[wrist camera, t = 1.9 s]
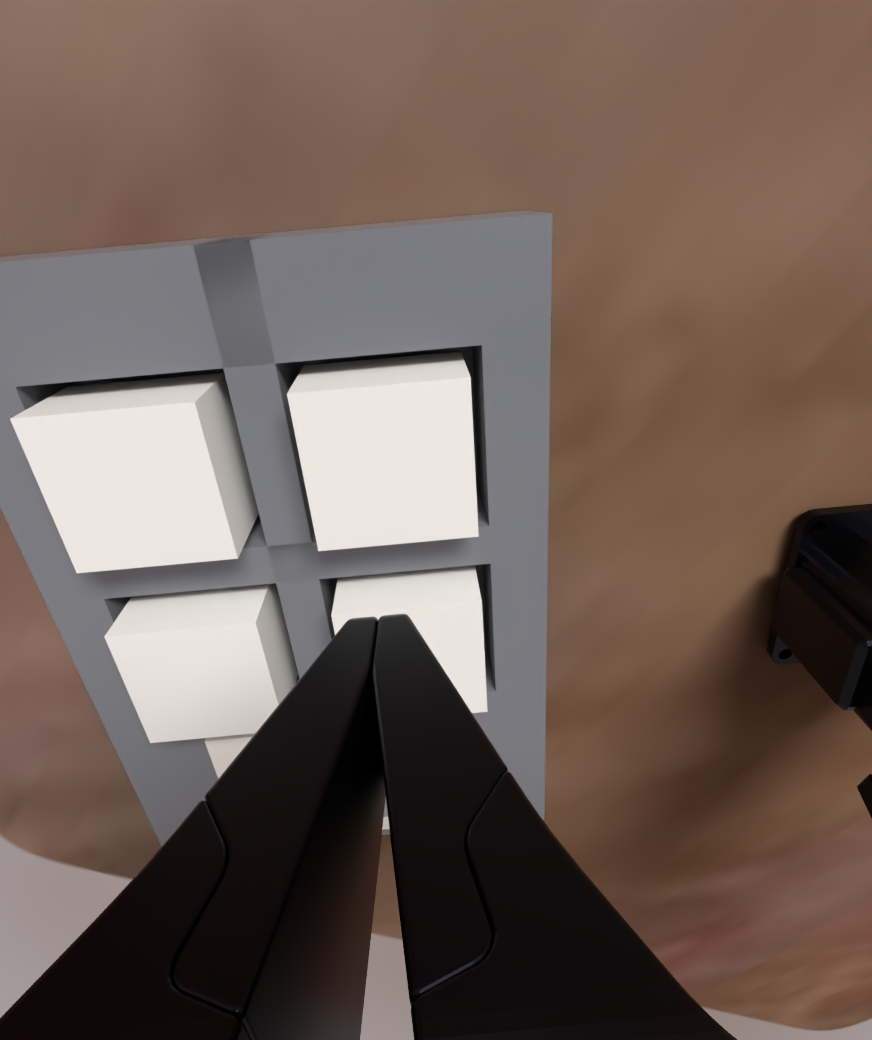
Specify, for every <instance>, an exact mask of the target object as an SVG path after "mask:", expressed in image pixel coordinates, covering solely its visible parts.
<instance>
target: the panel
mask: <svg viewBox="0 0 872 1040" xmlns="http://www.w3.org/2000/svg"><path fill="white" fill-rule="evenodd" d="M551 275H552V213H545V212H534V211H524V210H522V211H511V212H499V213H488V214H477V215H465V216H454V217H443V218H431V219H420V220H409V221H398V222H386V223H375V224H364V225H352V226H341V227H330V228H318V229H307V230H296V231H284V232H273V233H262V234H251V235H239V236H228V237H217V238H205V239H194V240H183V241H171V242H160V243H149V244H138V245H126V246H115V247H104V248H92V249H81V250H70V251H58V252H47V253H36V254H24V255H13V256H2V257H0V508H1V510H2V512H3V514H4V516H5V518H6V521H7V523H8V525H9V527H10V529H11V531H12V533H13V535H14V537H15V539H16V542H17V544H18V546H19V548H20V550H21V552H22V554H23V556H24V558H25V560H26V563H27V565H28V567H29V569H30V571H31V573H32V575H33V577H34V579H35V581H36V584H37V586H38V588H39V590H40V592H41V594H42V596H43V598H44V600H45V602H46V605H47V607H48V609H49V611H50V613H51V615H52V617H53V619H54V621H55V624H56V626H57V628H58V630H59V632H60V634H61V636H62V638H63V640H64V642H65V645H66V647H67V649H68V651H69V653H70V655H71V657H72V659H73V661H74V663H75V666H76V668H77V670H78V672H79V674H80V676H81V678H82V680H83V682H84V684H85V687H86V689H87V691H88V693H89V695H90V697H91V699H92V701H93V703H94V706H95V708H96V710H97V712H98V714H99V716H100V718H101V720H102V722H103V724H104V727H105V729H106V731H107V733H108V735H109V737H110V739H111V741H112V743H113V745H114V748H115V750H116V752H117V754H118V756H119V758H120V760H121V762H122V764H123V766H124V769H125V771H126V773H127V775H128V777H129V779H130V781H131V783H132V785H133V787H134V790H135V792H136V794H137V796H138V798H139V800H140V802H141V804H142V806H143V809H144V811H145V813H146V815H147V817H148V819H149V821H150V823H151V825H152V827H153V830H154V832H155V834H156V836H157V838H158V840H159V842H160V844H161V846H163V845H164V844H165V842H166V841H167V840H168V839H169V838H170V837H171V835H172V834H173V833H174V832H175V831H176V830H177V828H178V827H179V826H180V825H181V824H182V822H183V821H184V820H185V819H186V818H187V816H188V815H189V814H190V813H191V811H192V810H193V809H194V808H195V806H196V805H197V804H198V803H199V802H200V801H201V800H205V795H206V793H207V792H208V791H209V790H210V788H211V787H212V786H213V785H214V784H215V782H216V781H217V780H218V779H219V777H220V776H221V775H222V774H223V772H224V771H225V770H226V769H227V768H228V766H229V765H230V764H231V763H232V761H233V760H234V759H235V758H236V757H237V755H238V754H239V753H240V752H241V750H242V749H243V748H244V747H245V745H246V744H247V743H248V742H249V741H250V739H251V738H252V737H253V736H254V734H255V733H254V734H243V735H232V736H222V737H211V738H200V739H189V740H179V741H168V742H157V743H150V741H149V739H148V737H147V734H146V732H145V730H144V728H143V725H142V723H141V721H140V718H139V716H138V714H137V711H136V709H135V707H134V704H133V702H132V700H131V698H130V695H129V693H128V691H127V688H126V686H125V684H124V681H123V679H122V677H121V674H120V672H119V670H118V667H117V665H116V663H115V661H114V658H113V656H112V654H111V651H110V649H109V647H108V644H107V642H106V640H105V637H104V636H105V635H106V633H107V632H108V630H109V629H110V628H111V626H112V625H113V623H114V622H115V620H116V619H117V617H118V616H119V614H120V613H121V611H122V610H123V609H124V607H125V606H126V604H127V603H128V601H129V600H130V598H131V597H132V596H142V595H153V594H164V593H175V592H186V591H197V590H208V589H219V588H230V587H241V586H251V585H262V584H273V583H276V585H277V589H278V593H279V597H280V601H281V605H282V609H283V613H284V617H285V621H286V625H287V629H288V633H289V637H290V641H291V645H292V650H293V654H294V658H295V662H296V666H297V670H298V676H297V681H296V683H297V682H298V680H299V679H300V678H301V677H302V676H303V674H304V673H305V672H306V671H307V669H308V668H309V667H310V666H311V664H312V663H313V662H314V661H315V660H316V658H317V657H318V656H319V655H320V653H321V652H322V651H323V650H324V649H325V647H326V646H327V645H328V644H329V642H330V641H331V640H332V639H333V637H334V636H335V632H334V627H333V622H332V617H331V614H332V608H333V603H334V597H335V591H336V585H337V579H338V578H339V577H350V576H361V575H372V574H382V573H393V572H404V571H415V570H426V569H437V568H448V567H459V566H470V565H475V569H476V574H477V579H478V584H479V589H480V594H481V599H482V612H483V631H484V651H485V671H486V691H487V711H488V712H480V713H472V714H473V716H474V717H475V719H476V720H477V722H478V723H479V725H480V726H481V728H482V729H483V731H484V733H485V734H486V736H487V737H488V739H489V740H490V742H491V743H492V745H493V746H494V748H495V749H496V751H497V753H498V754H499V756H500V757H501V759H502V760H503V762H504V763H505V765H506V766H507V769H508V772H510V773H511V774H512V775H513V777H514V778H515V780H516V781H517V783H518V784H519V786H520V787H521V789H522V790H523V792H524V794H525V795H526V797H527V798H528V799H529V801H530V802H531V804H532V805H533V807H534V808H535V809H536V811H537V812H538V814H539V815H540V816H541V818H542V819H543V820H544V814H545V737H546V660H547V583H548V506H549V429H550V352H551ZM450 352H461V353H462V356H463V358H464V361H465V364H466V366H467V369H468V372H469V374H470V377H471V394H472V414H473V433H474V453H475V473H476V493H477V513H478V532H479V537H470V538H459V539H448V540H437V541H426V542H415V543H404V544H393V545H382V546H371V547H360V548H349V549H338V550H327V551H318V547H317V542H316V537H315V532H314V527H313V522H312V517H311V512H310V507H309V502H308V497H307V492H306V487H305V482H304V477H303V472H302V467H301V462H300V457H299V452H298V447H297V442H296V437H295V432H294V427H293V422H292V417H291V412H290V407H289V402H288V397H287V393H288V391H289V389H290V388H291V386H292V384H293V383H294V381H295V379H296V378H297V376H298V374H299V373H300V371H301V369H302V368H303V366H305V365H316V364H327V363H339V362H350V361H361V360H372V359H383V358H394V357H405V356H417V355H428V354H439V353H450ZM216 373H224V374H225V378H226V382H227V386H228V390H229V394H230V398H231V402H232V406H233V410H234V414H235V418H236V422H237V426H238V430H239V434H240V439H241V443H242V447H243V451H244V455H245V459H246V463H247V467H248V471H249V475H250V479H251V483H252V487H253V491H254V495H255V499H256V503H257V507H258V512H259V514H258V516H257V518H256V520H255V523H254V525H253V527H252V529H251V531H250V533H249V536H248V538H247V540H246V542H245V544H244V546H243V549H242V551H241V553H240V555H239V557H238V559H229V560H218V561H207V562H196V563H185V564H174V565H163V566H152V567H141V568H130V569H119V570H109V571H98V572H87V573H76V570H75V568H74V566H73V564H72V561H71V559H70V557H69V554H68V552H67V550H66V547H65V545H64V543H63V540H62V538H61V536H60V534H59V531H58V529H57V527H56V524H55V522H54V520H53V517H52V515H51V513H50V510H49V508H48V506H47V504H46V501H45V499H44V497H43V494H42V492H41V490H40V487H39V485H38V483H37V480H36V478H35V476H34V473H33V471H32V469H31V467H30V464H29V462H28V460H27V457H26V455H25V453H24V450H23V448H22V446H21V443H20V441H19V439H18V437H17V434H16V432H15V430H14V427H13V425H12V423H11V420H10V418H12V417H14V416H16V415H18V414H19V413H21V412H23V411H25V410H27V409H28V408H30V407H32V406H34V405H35V404H37V403H39V402H41V401H43V400H44V399H46V398H48V397H50V396H52V395H53V394H55V393H57V392H59V391H60V390H62V389H64V388H66V387H71V386H82V385H93V384H104V383H116V382H127V381H138V380H149V379H160V378H171V377H182V376H194V375H205V374H216ZM205 801H206V800H205ZM388 834H390V829H389V820H388V812H387V803H386V799H385V808H384V817H383V827H382V835H388Z"/></svg>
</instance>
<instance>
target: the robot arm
mask: <svg viewBox="0 0 872 1040" xmlns="http://www.w3.org/2000/svg"><path fill="white" fill-rule="evenodd" d="M816 522H818V523H817V525H816V526H815V527H813V528H811V526H812V525H813V524H814V523H816ZM782 650H783V651H782ZM781 651H782V652H781ZM767 653H768V655H769V656H770V657H771V659H772V660H773V661H774V662H775V663H777V664H791V663H801V664H802V665H803V666H804V667H805V668H806V670H807V671H808V672H809V673H810V674H811V675H812V677H813V678H814V679H815V680H816V681H817V682H818V684H819V685H820V686H821V687H822V688H823V689H824V691H825V692H826V693H827V694H828V695H829V696H830V698H831V699H832V700H833V701H834V702H835V703H836V704H837V705H838V706H839V707H840V708H842V709H843V710H852V709H853V710H854V711H855V712H856V714H857V715H858V716H859V717H860V718H861V719H862V720H863V721H864V723H865V724H866V725H867V726H868V727H869V728H870V729H871V731H872V504H866V505H855V506H844V507H833V508H822V509H813V510H809V511H807V512H805V513H804V514H802V515H801V517H800V518H799V519H798V521H797V523H796V527H795V532H794V536H793V540H792V544H791V548H790V553H789V557H788V561H787V565H786V569H785V572H784V574H783V577H782V581H781V585H780V589H779V594H778V598H777V602H776V606H775V611H774V615H773V619H772V623H771V633H770V637H769V641H768V645H767ZM857 788H858V790H859V792H860V795H861V797H862V799H863V801H864V803H865V805H866V807H867V809H868V811H869V813H870V815H871V818H872V774H869V775H868V776H867V777H866V778H865V779H864V780H863V781H862V782H861V783H860V784H859V785H858V786H857ZM385 799H386V803H387V812H388V820H389V829H390V837H391V846H392V854H393V863H394V871H395V880H396V888H397V897H398V905H399V914H400V922H401V931H402V939H403V948H404V955H405V964H406V972H407V981H408V990H409V998H410V1004H411V1015H412V1024H413V1032H414V1040H737V1039H736V1038H735V1037H733V1036H732V1035H731V1034H730V1033H728V1032H727V1031H726V1030H725V1029H724V1028H723V1027H722V1026H720V1025H719V1024H718V1023H717V1022H716V1021H715V1020H714V1019H713V1018H712V1017H711V1016H709V1014H708V1013H707V1012H706V1011H705V1010H704V1009H703V1008H702V1007H701V1006H700V1005H699V1004H698V1003H697V1002H696V1001H695V1000H694V999H693V998H692V997H691V996H690V995H689V994H688V993H687V992H686V991H685V989H684V988H683V987H682V986H681V985H680V984H679V983H678V982H677V980H676V979H675V978H674V977H673V976H672V975H671V974H670V972H669V971H668V970H667V969H666V968H665V967H664V965H663V964H662V963H661V962H660V961H659V960H658V958H657V957H656V956H655V955H654V954H653V953H652V951H651V950H650V949H649V948H648V947H647V946H646V944H645V943H644V942H643V941H642V940H641V939H640V937H639V936H638V935H637V934H636V933H635V931H634V930H633V929H632V928H631V927H630V926H629V924H628V923H627V922H626V921H625V920H624V919H623V917H622V916H621V915H620V914H619V913H618V912H617V910H616V909H615V908H614V907H613V906H612V905H611V903H610V902H609V901H608V900H607V899H606V898H605V896H604V895H603V894H602V893H601V892H600V891H599V889H598V888H597V887H596V886H595V885H594V883H593V882H592V881H591V880H590V879H589V878H588V876H587V875H586V874H585V873H584V872H583V871H582V869H581V868H580V867H579V866H578V864H577V863H576V862H575V861H574V859H573V858H572V857H571V856H570V854H569V853H568V852H567V851H566V849H565V848H564V847H563V846H562V844H561V843H560V842H559V841H558V839H557V838H556V837H555V836H554V835H553V833H552V832H551V831H550V829H549V828H548V826H547V825H546V824H545V822H544V821H543V819H542V818H541V816H540V815H539V814H538V812H537V811H536V809H535V808H534V807H533V805H532V804H531V802H530V801H529V799H528V798H527V797H526V795H525V794H524V792H523V790H522V789H521V787H520V786H519V784H518V783H517V781H516V780H515V778H514V777H513V775H512V774H511V773H510V772H508V769H507V766H506V765H505V763H504V762H503V760H502V759H501V757H500V756H499V754H498V753H497V751H496V749H495V748H494V746H493V745H492V743H491V742H490V740H489V739H488V737H487V736H486V734H485V733H484V731H483V729H482V728H481V726H480V725H479V723H478V722H477V720H476V719H475V717H474V716H473V714H472V713H471V711H470V709H469V708H468V706H467V705H466V703H465V702H464V700H463V699H462V697H461V696H460V694H459V692H458V691H457V689H456V688H455V686H454V685H453V683H452V682H451V680H450V679H449V677H448V676H447V674H446V672H445V671H444V669H443V668H442V666H441V665H440V663H439V662H438V660H437V659H436V657H435V656H434V654H433V652H432V651H431V649H430V648H429V646H428V645H427V643H426V642H425V640H424V639H423V637H422V635H421V634H420V632H419V631H418V629H417V628H416V626H415V625H414V623H413V622H412V620H411V619H410V617H409V616H408V615H407V614H394V615H384V616H381V617H380V618H379V620H378V619H377V618H376V617H362V618H352V619H349V620H348V621H347V622H346V623H345V624H344V625H343V626H342V628H341V629H340V630H339V631H338V633H337V634H336V635H335V636H334V637H333V639H332V640H331V641H330V642H329V644H328V645H327V646H326V647H325V649H324V650H323V651H322V652H321V653H320V655H319V656H318V657H317V658H316V660H315V661H314V662H313V663H312V664H311V666H310V667H309V668H308V669H307V671H306V672H305V673H304V674H303V676H302V677H301V678H300V679H299V680H298V682H297V683H296V684H295V685H294V687H293V688H292V689H291V690H290V691H289V693H288V694H287V695H286V696H285V698H284V699H283V700H282V701H281V703H280V704H279V705H278V706H277V707H276V709H275V710H274V711H273V712H272V714H271V715H270V716H269V717H268V718H267V720H266V721H265V722H264V723H263V725H262V726H261V727H260V728H259V730H258V731H257V732H256V733H255V734H254V736H253V737H252V738H251V739H250V741H249V742H248V743H247V744H246V745H245V747H244V748H243V749H242V750H241V752H240V753H239V754H238V755H237V757H236V758H235V759H234V760H233V761H232V763H231V764H230V765H229V766H228V768H227V769H226V770H225V771H224V772H223V774H222V775H221V776H220V777H219V779H218V780H217V781H216V782H215V784H214V785H213V786H212V787H211V788H210V790H209V791H208V792H207V793H206V795H205V800H206V801H205V800H201V801H200V802H199V803H198V804H197V805H196V806H195V808H194V809H193V810H192V811H191V813H190V814H189V815H188V816H187V818H186V819H185V820H184V821H183V822H182V824H181V825H180V826H179V827H178V828H177V830H176V831H175V832H174V833H173V834H172V835H171V837H170V838H169V839H168V840H167V841H166V842H165V844H164V845H163V846H162V847H161V848H160V850H159V851H158V852H157V853H156V854H155V855H154V857H153V858H152V859H151V860H150V861H149V862H148V864H147V865H146V866H145V867H144V868H143V869H142V870H141V871H140V872H139V874H138V875H137V876H136V877H135V878H134V879H133V880H132V881H131V882H130V883H129V884H128V886H127V887H126V888H125V889H124V890H123V891H122V892H121V893H120V894H119V895H118V896H117V897H116V899H114V901H113V902H112V903H111V904H110V905H109V906H108V907H107V908H106V909H105V910H104V911H103V912H102V913H101V914H100V915H99V917H98V918H97V919H96V920H95V921H94V922H93V923H92V924H91V925H90V926H89V927H88V928H87V929H86V930H85V931H84V932H83V933H82V934H81V935H80V936H79V937H78V938H77V939H76V940H75V942H74V943H72V944H71V946H70V947H69V948H68V949H67V950H66V951H65V952H64V953H63V954H62V955H61V956H60V957H59V958H58V959H57V960H56V961H55V962H54V963H53V964H52V965H51V966H50V967H49V968H48V969H47V970H46V971H45V972H44V973H43V974H42V976H41V977H40V978H39V979H38V980H37V981H36V982H35V983H34V984H33V985H32V986H31V987H30V988H29V989H28V990H27V991H26V992H25V993H24V994H23V995H22V996H21V997H20V998H19V999H18V1000H17V1001H16V1003H14V1005H13V1006H12V1007H11V1008H10V1009H9V1010H8V1011H7V1012H6V1013H5V1014H4V1015H3V1016H2V1017H1V1018H0V1040H360V1033H361V1024H362V1014H363V1005H364V996H365V986H366V976H367V966H368V957H369V949H370V939H371V930H372V921H373V911H374V902H375V892H376V883H377V874H378V864H379V855H380V845H381V836H382V827H383V817H384V808H385Z"/></svg>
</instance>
